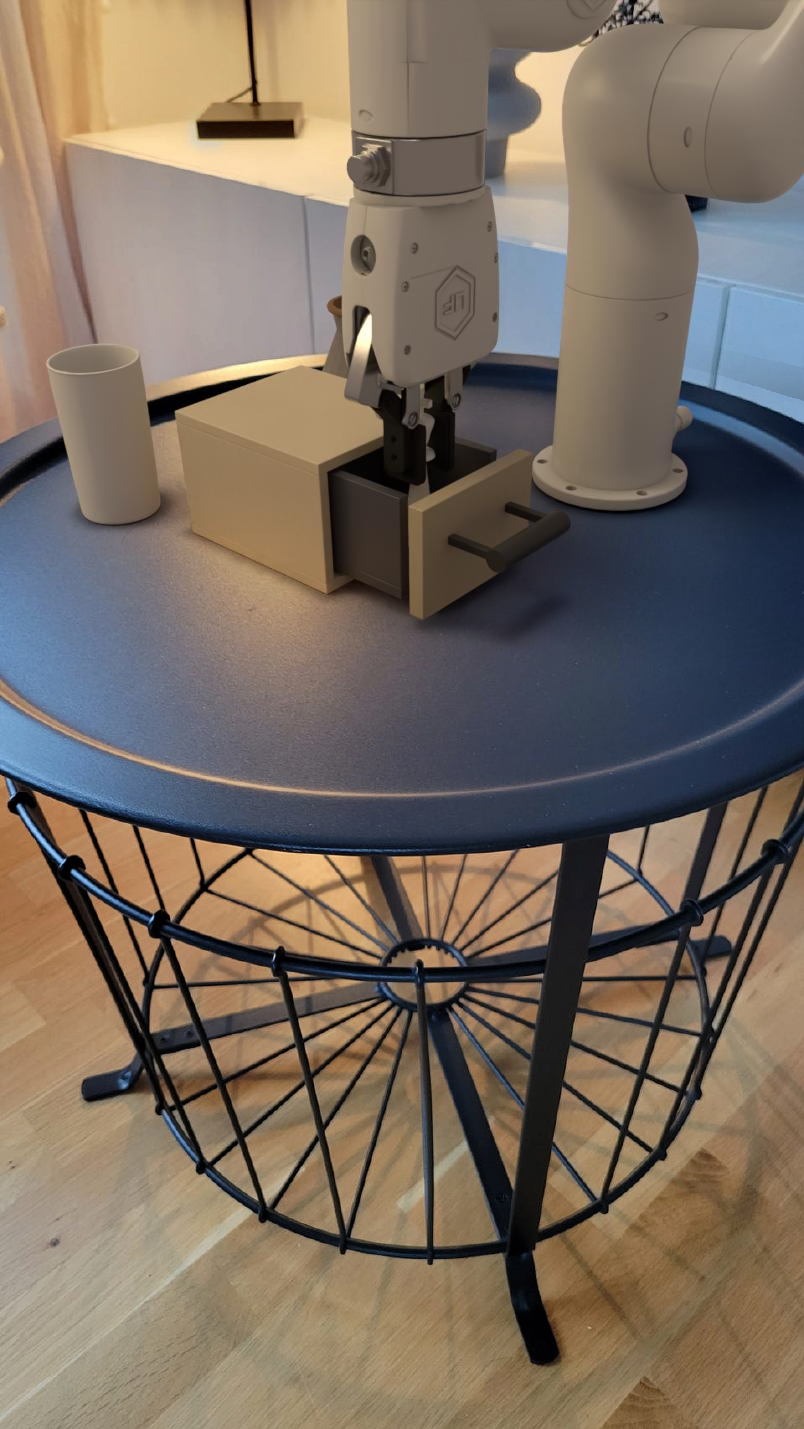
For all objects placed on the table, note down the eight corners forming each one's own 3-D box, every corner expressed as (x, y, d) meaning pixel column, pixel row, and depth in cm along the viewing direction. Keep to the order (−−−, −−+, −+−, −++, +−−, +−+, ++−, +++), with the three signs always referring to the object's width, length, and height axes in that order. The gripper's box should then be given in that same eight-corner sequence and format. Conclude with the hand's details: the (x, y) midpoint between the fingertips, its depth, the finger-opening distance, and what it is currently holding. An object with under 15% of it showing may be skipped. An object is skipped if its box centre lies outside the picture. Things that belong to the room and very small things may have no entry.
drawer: (583, 577, 73) (594, 471, 68) (481, 647, 66) (485, 534, 61) (387, 502, 82) (384, 405, 78) (280, 556, 76) (271, 453, 71)
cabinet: (443, 530, 81) (444, 408, 75) (327, 594, 73) (318, 464, 67) (309, 478, 88) (301, 364, 83) (192, 532, 81) (174, 410, 75)
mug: (153, 527, 82) (127, 373, 74) (68, 527, 82) (33, 374, 75) (180, 473, 90) (158, 329, 82) (102, 473, 90) (73, 330, 83)
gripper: (371, 197, 53) (379, 530, 64) (555, 153, 62) (535, 450, 73) (268, 179, 57) (293, 496, 68) (456, 141, 66) (451, 424, 77)
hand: (419, 470), depth 70 cm, fingers closed
